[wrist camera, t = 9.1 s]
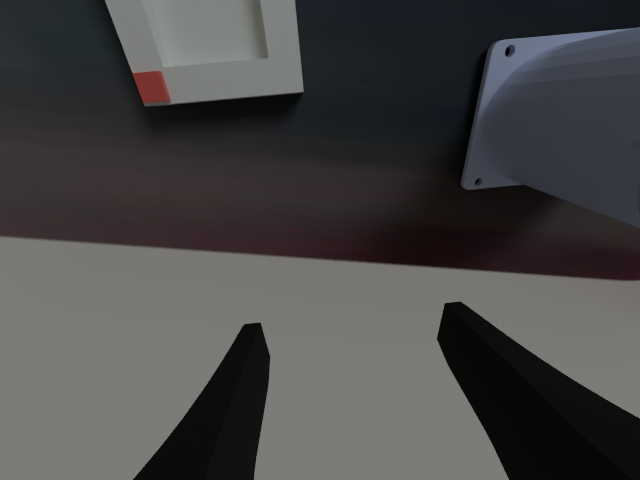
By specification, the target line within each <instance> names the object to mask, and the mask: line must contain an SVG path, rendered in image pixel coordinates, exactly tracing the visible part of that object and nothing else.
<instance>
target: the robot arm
mask: <svg viewBox="0 0 640 480" xmlns="http://www.w3.org/2000/svg"><path fill="white" fill-rule="evenodd" d="M507 47H509V49H510V52H509V54H508V56H507V57H506V56H505V50H506V48H507ZM478 178H479V181H478V182H477V183H476V184H475V181H476V180H477V179H478ZM513 185H526V186H529V187H531V188H534V189H537V190H539V191H542V192H545V193H547V194H550V195H553V196H555V197H558V198H561V199H563V200H566V201H569V202H572V203H574V204H577V205H580V206H582V207H585V208H588V209H590V210H593V211H596V212H598V213H601V214H604V215H606V216H609V217H612V218H614V219H617V220H620V221H622V222H625V223H628V224H630V225H633V226H636V227H639V228H640V27H638V28H631V29H619V30H608V31H597V32H586V33H575V34H564V35H553V36H542V37H531V38H519V39H508V40H501V41H498V42H495V43H494V44H492V45H491V47H490V48H489V50H488V52H487V56H486V61H485V66H484V71H483V76H482V81H481V86H480V90H479V95H478V100H477V105H476V110H475V115H474V120H473V125H472V130H471V135H470V140H469V145H468V149H467V154H466V159H465V164H464V169H463V174H462V179H461V186H462V187H463V188H464V189H466V190H473V189H483V188H493V187H503V186H513ZM437 340H438V342H439V345H440V347H441V350H442V352H443V355H444V357H445V359H446V361H447V364H448V366H449V367H450V369H451V371H452V373H453V375H454V376H455V378H456V380H457V382H458V383H459V385H460V387H461V389H462V390H463V392H464V394H465V396H466V398H467V399H468V401H469V403H470V405H471V406H472V408H473V410H474V412H475V413H476V415H477V417H478V419H479V420H480V422H481V424H482V426H483V427H484V429H485V431H486V433H487V435H488V436H489V439H490V440H491V442H492V444H493V446H494V448H495V451H496V453H497V455H498V457H499V459H500V461H501V463H502V465H503V467H504V470H505V472H506V474H507V476H508V478H509V480H640V419H639V418H638V417H635V416H634V415H632V414H630V413H629V412H627V411H625V410H623V409H621V408H620V407H618V406H616V405H614V404H613V403H611V402H609V401H608V400H606V399H604V398H603V397H600V396H599V395H597V394H596V393H594V392H592V391H591V390H589V389H587V388H586V387H584V386H582V385H581V384H579V383H577V382H575V381H574V380H573V379H571V378H569V377H568V376H566V375H564V374H563V373H561V372H560V371H558V370H557V369H555V368H554V367H552V366H551V365H549V364H548V363H546V362H544V361H543V360H542V359H540V358H539V357H537V356H536V355H534V354H533V353H531V352H530V351H528V350H527V349H525V348H524V347H523V346H521V345H520V344H518V343H517V342H515V341H514V340H512V339H511V338H510V337H508V336H507V335H506V334H504V333H503V332H501V331H500V330H499V329H497V328H496V327H495V326H493V325H492V324H490V323H489V322H488V321H486V320H485V319H483V318H482V317H481V316H480V315H478V314H477V313H475V312H474V311H473V310H471V309H470V308H469V307H467V306H466V305H465V304H463V303H462V302H452V303H445V305H444V310H443V314H442V319H441V323H440V327H439V332H438V336H437ZM269 365H270V355H269V351H268V348H267V344H266V341H265V337H264V334H263V330H262V326H261V323H252V324H245V325H244V326H243V327H242V329H241V330H240V332H239V334H238V335H237V337H236V339H235V341H234V342H233V344H232V346H231V347H230V349H229V351H228V352H227V354H226V356H225V357H224V359H223V360H222V362H221V363H220V365H219V367H218V368H217V370H216V371H215V373H214V374H213V376H212V378H211V379H210V381H209V382H208V384H207V385H206V387H205V388H204V389H203V391H202V392H201V394H200V395H199V396H198V398H197V399H196V401H195V402H194V404H193V405H192V406H191V408H190V409H189V411H188V412H187V413H186V415H185V416H184V417H183V419H182V420H181V421H180V423H179V424H178V425H177V427H176V428H175V429H174V431H173V432H172V433H171V434H170V436H169V437H168V438H167V440H166V441H165V442H164V443H163V445H162V446H161V447H160V448H159V449H158V451H157V452H156V453H155V454H154V455H153V457H152V458H151V459H150V460H149V461H148V463H147V464H146V465H145V466H144V467H143V468H142V470H141V471H140V472H139V473H138V474H137V476H136V477H135V478H134V479H133V480H254V470H255V462H256V456H257V450H258V444H259V438H260V432H261V426H262V420H263V414H264V408H265V402H266V396H267V390H268V382H269Z"/></svg>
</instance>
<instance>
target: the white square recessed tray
mask: <svg viewBox="0 0 640 480" xmlns="http://www.w3.org/2000/svg"><path fill="white" fill-rule="evenodd" d="M105 2H106V4H107V7H108V10H109V12H110V15H111V18H112V20H113V23H114V26H115V28H116V31H117V34H118V36H119V39H120V41H121V44H122V47H123V49H124V52H125V55H126V57H127V60H128V63H129V65H130V68H131V71H132V74H133V77H134V79H135V82H136V85H137V87H138V90H139V92H140V95H141V98H142V100H143V103H144V105H145V106H165V105H175V104H186V103H197V102H208V101H219V100H230V99H241V98H251V97H262V96H273V95H284V94H295V93H304V91H303V80H302V70H301V60H300V49H299V39H298V29H297V18H296V8H295V0H105Z"/></svg>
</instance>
